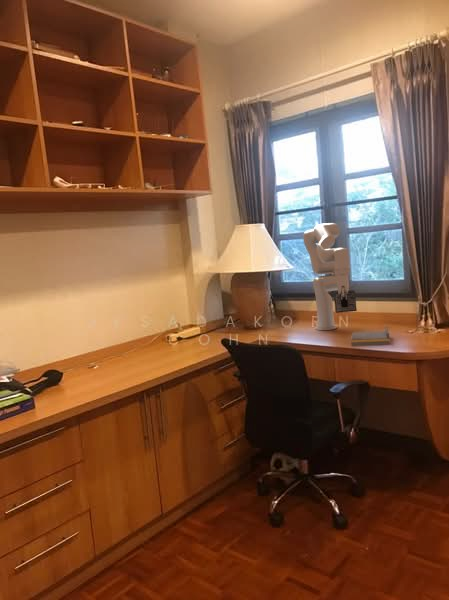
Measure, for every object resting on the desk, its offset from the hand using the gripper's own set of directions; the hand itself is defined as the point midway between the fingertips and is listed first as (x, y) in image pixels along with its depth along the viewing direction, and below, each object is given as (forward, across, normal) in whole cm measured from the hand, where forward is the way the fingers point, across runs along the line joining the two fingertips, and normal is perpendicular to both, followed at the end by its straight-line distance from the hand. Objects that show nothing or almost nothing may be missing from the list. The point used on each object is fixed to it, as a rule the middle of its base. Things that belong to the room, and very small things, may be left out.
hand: (345, 305), depth 252 cm
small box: (+3, 0, 0) cm, 3 cm away
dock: (+18, +4, +11) cm, 22 cm away
